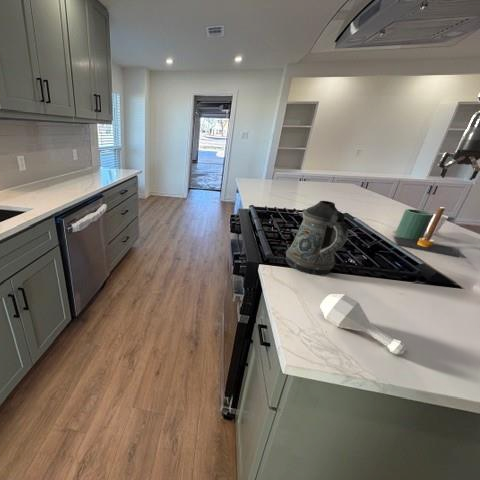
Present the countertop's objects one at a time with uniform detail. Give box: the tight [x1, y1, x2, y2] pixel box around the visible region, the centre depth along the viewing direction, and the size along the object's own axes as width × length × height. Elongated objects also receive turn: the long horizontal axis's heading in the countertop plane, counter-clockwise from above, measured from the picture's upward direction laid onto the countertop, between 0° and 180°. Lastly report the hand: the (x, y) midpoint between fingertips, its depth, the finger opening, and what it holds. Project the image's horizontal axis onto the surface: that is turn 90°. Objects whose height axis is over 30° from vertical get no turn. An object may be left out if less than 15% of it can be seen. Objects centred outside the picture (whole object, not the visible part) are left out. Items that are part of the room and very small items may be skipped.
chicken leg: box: [319, 293, 406, 355], centre depth 64 cm, size 8×18×8 cm, turn 37°
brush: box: [417, 206, 446, 248], centre depth 113 cm, size 5×5×18 cm
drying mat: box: [393, 235, 460, 258], centre depth 117 cm, size 20×12×1 cm, turn 55°
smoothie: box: [426, 213, 449, 235], centre depth 131 cm, size 6×6×14 cm
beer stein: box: [285, 200, 349, 276], centre depth 92 cm, size 16×19×25 cm
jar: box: [394, 208, 435, 241], centre depth 125 cm, size 10×10×13 cm
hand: (455, 178), depth 110 cm, fingers open, 8 cm apart
